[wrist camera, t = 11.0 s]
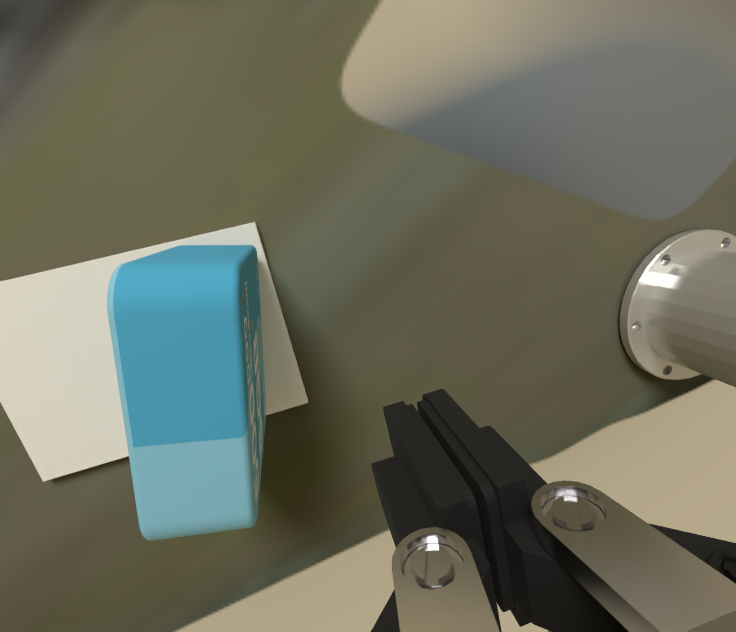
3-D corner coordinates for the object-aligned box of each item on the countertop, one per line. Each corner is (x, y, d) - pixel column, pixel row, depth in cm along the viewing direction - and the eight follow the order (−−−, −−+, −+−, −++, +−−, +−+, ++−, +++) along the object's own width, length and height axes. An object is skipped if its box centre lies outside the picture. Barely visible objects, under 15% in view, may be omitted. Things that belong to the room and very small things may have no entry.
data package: (266, 414, 29) (255, 545, 18) (199, 419, 28) (141, 560, 17) (257, 242, 26) (236, 267, 15) (181, 243, 25) (97, 269, 14)
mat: (255, 221, 26) (254, 221, 26) (307, 399, 30) (308, 402, 30) (-49, 293, 24) (-57, 295, 24) (48, 475, 28) (43, 481, 27)
